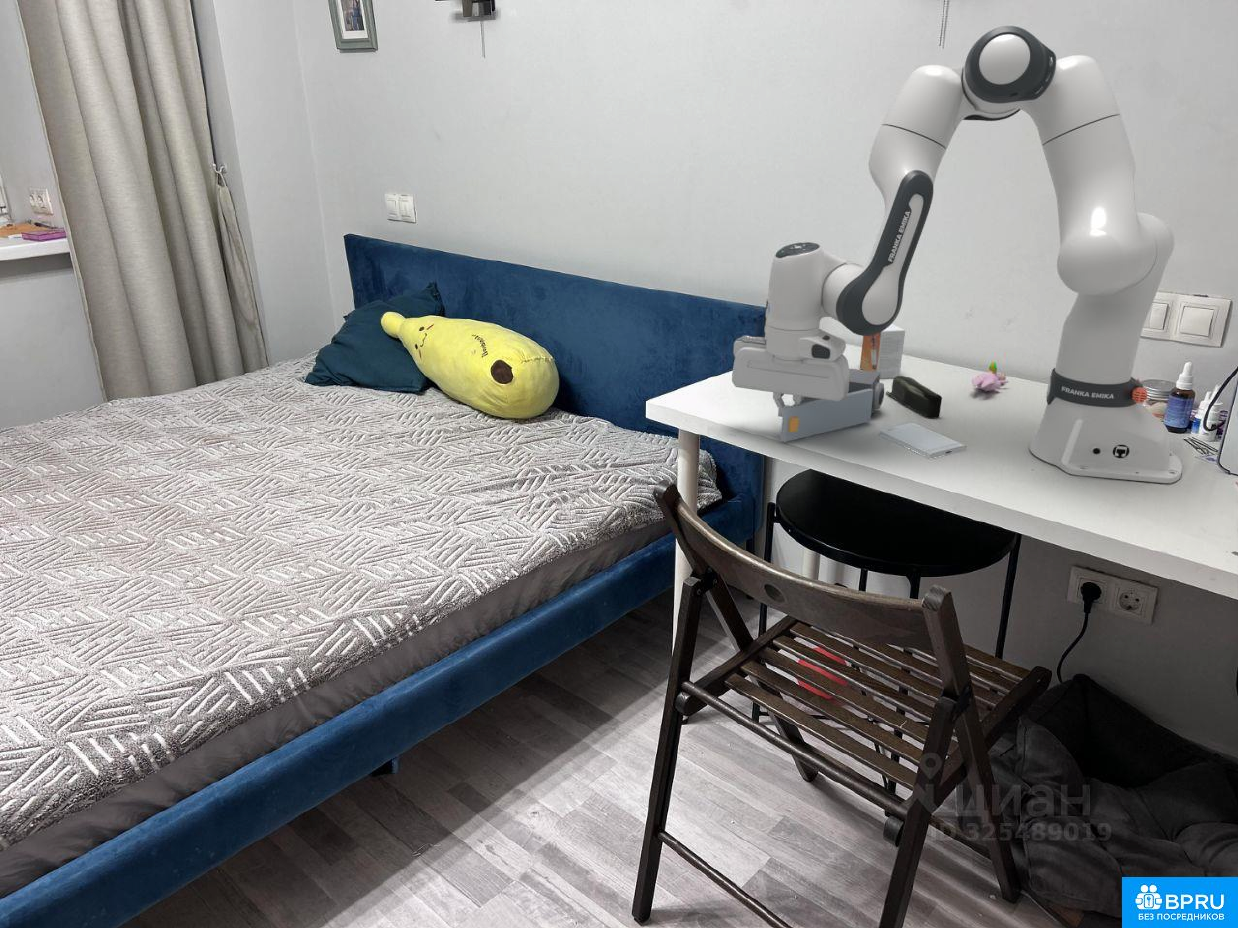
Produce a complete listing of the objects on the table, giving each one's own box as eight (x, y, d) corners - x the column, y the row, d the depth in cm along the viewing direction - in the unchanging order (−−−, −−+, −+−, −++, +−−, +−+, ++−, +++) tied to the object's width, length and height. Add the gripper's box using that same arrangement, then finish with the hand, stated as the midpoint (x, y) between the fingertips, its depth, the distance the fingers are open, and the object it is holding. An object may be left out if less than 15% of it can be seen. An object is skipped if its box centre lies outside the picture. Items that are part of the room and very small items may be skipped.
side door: (866, 419, 166) (869, 388, 164) (872, 421, 165) (875, 390, 163) (780, 439, 157) (783, 407, 155) (786, 442, 156) (789, 410, 154)
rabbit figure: (981, 384, 190) (960, 392, 179) (986, 356, 189) (966, 362, 177) (1012, 390, 187) (992, 398, 175) (1018, 361, 185) (998, 367, 174)
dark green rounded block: (945, 394, 166) (898, 369, 179) (932, 396, 166) (885, 371, 179) (941, 419, 169) (895, 393, 181) (928, 421, 168) (882, 395, 181)
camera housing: (884, 408, 173) (889, 369, 170) (875, 421, 167) (880, 381, 164) (805, 397, 180) (808, 359, 177) (794, 409, 173) (797, 370, 170)
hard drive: (879, 429, 160) (931, 452, 150) (913, 421, 164) (966, 444, 153) (878, 438, 161) (929, 462, 151) (912, 430, 164) (965, 453, 154)
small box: (859, 368, 197) (863, 321, 193) (883, 367, 198) (888, 320, 194) (875, 379, 190) (880, 331, 185) (900, 378, 190) (905, 329, 186)
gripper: (728, 338, 155) (725, 413, 161) (846, 352, 147) (839, 431, 153) (740, 329, 161) (737, 403, 166) (855, 342, 152) (848, 419, 158)
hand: (787, 416), depth 159 cm, fingers closed
